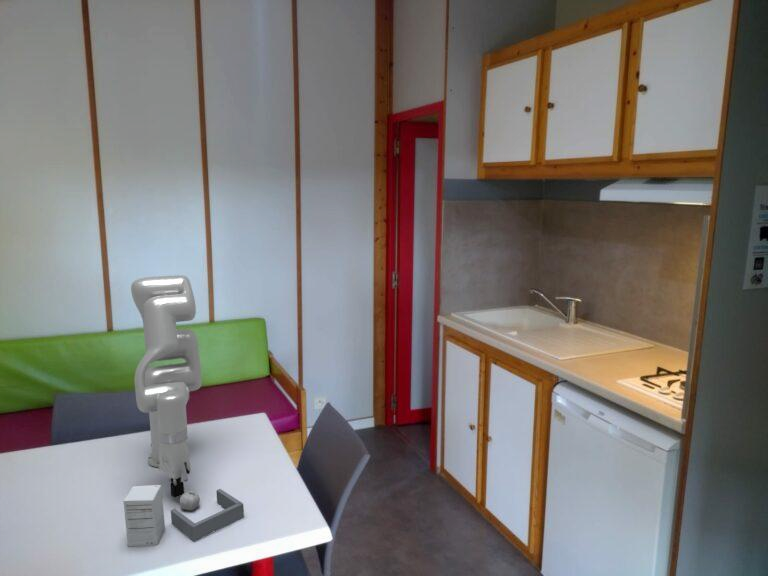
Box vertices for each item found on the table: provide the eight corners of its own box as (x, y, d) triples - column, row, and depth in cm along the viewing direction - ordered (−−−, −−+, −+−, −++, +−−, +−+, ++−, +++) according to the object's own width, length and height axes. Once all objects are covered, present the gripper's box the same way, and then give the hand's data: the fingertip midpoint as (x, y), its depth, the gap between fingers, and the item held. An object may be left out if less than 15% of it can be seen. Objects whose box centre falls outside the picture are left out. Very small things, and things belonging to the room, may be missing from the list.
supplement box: (136, 530, 151) (132, 485, 149) (165, 528, 152) (162, 484, 149) (126, 547, 144) (122, 500, 142) (157, 545, 144) (153, 499, 142)
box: (171, 524, 154) (170, 510, 153) (220, 501, 164) (220, 488, 164) (193, 541, 146) (192, 527, 145) (243, 517, 157) (243, 503, 156)
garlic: (204, 507, 161) (203, 490, 160) (187, 516, 157) (185, 498, 157) (193, 500, 165) (192, 483, 164) (175, 507, 161) (174, 490, 160)
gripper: (148, 431, 165) (152, 491, 168) (173, 447, 155) (178, 510, 158) (173, 423, 170) (177, 481, 173) (199, 438, 160) (203, 499, 163)
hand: (177, 495), depth 166 cm, fingers closed
